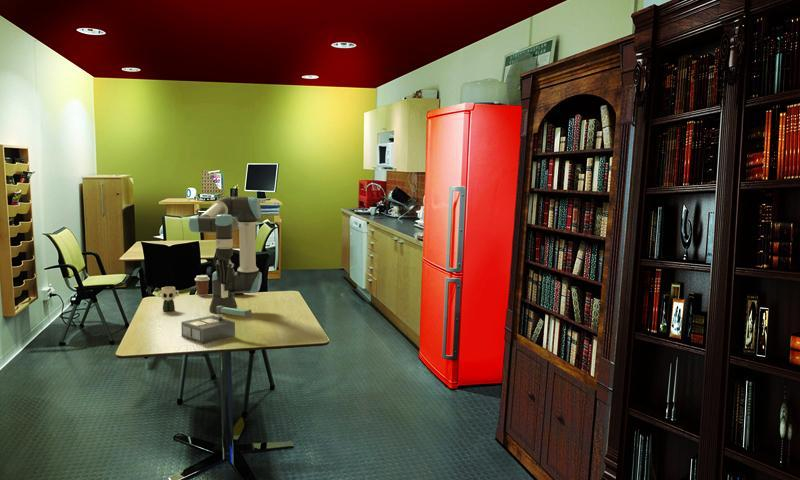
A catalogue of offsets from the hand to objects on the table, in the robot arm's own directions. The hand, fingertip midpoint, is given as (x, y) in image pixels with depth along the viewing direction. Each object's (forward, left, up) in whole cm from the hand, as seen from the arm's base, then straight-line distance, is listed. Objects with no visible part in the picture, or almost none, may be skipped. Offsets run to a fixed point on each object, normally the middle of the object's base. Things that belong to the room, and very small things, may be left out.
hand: (224, 297), depth 264 cm
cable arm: (+1, +4, -9) cm, 10 cm away
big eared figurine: (-66, +8, -20) cm, 69 cm away
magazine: (-75, +59, -20) cm, 97 cm away
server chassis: (-7, -5, -19) cm, 21 cm away
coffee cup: (-90, +44, -20) cm, 102 cm away
